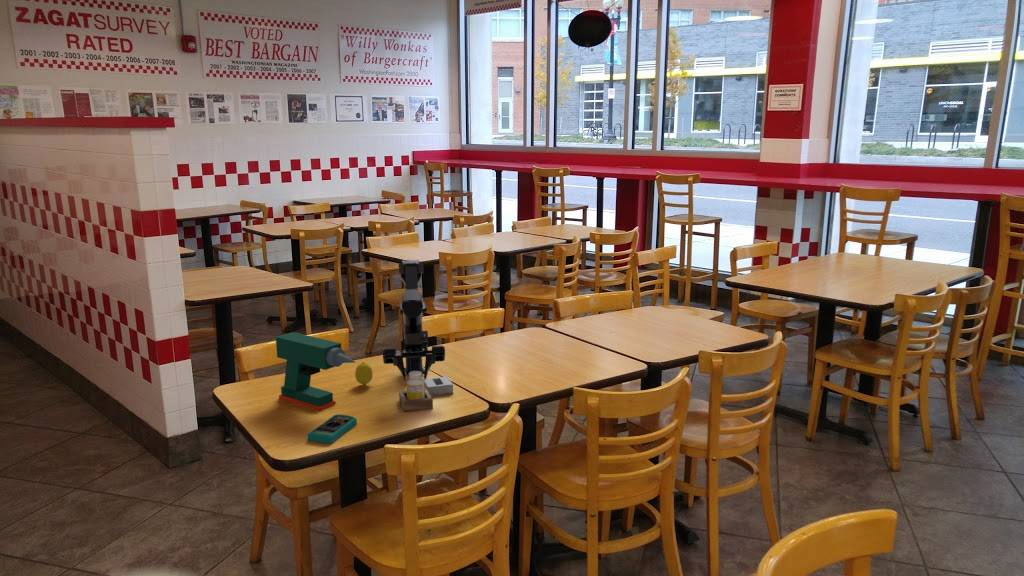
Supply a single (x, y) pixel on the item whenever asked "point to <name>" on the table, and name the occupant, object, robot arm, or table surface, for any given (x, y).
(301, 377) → the power tool
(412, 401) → the walnut socket block
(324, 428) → the digital multimeter
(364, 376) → the lemon
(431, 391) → the grey slot block
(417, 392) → the supplement bottle
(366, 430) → the table surface
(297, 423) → the table surface
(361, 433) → the table surface
